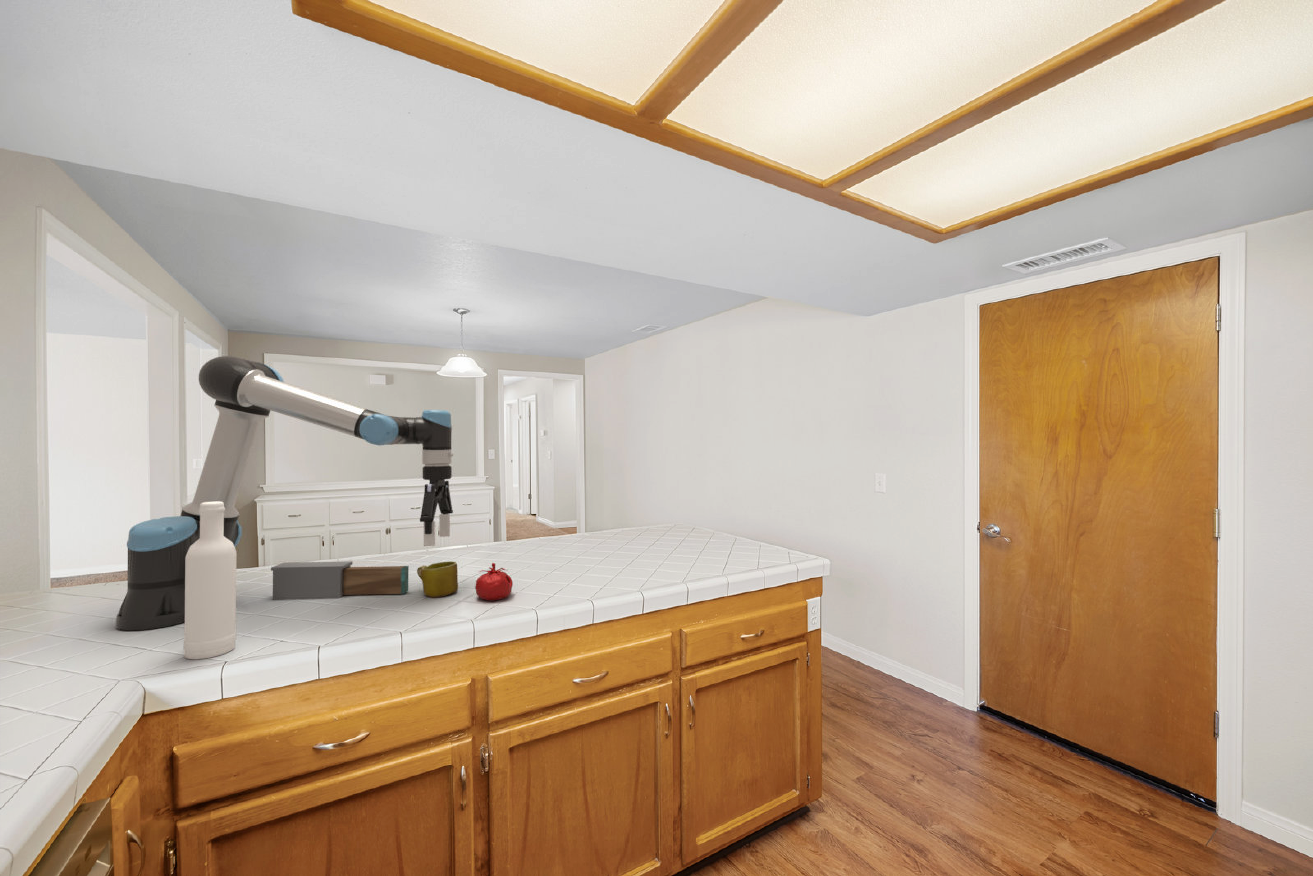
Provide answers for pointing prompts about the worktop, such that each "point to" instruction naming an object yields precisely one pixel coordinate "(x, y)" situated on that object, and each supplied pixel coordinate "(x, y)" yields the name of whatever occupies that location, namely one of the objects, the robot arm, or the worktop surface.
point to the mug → (439, 578)
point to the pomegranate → (493, 584)
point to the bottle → (210, 588)
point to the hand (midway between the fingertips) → (437, 541)
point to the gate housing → (308, 580)
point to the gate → (375, 580)
